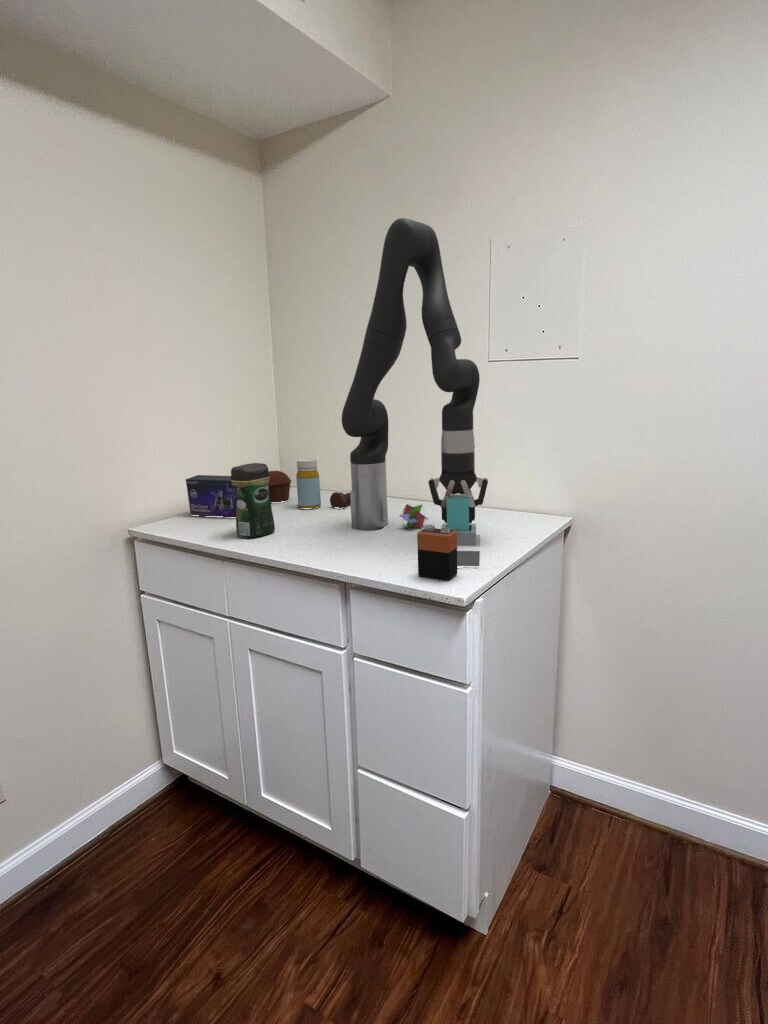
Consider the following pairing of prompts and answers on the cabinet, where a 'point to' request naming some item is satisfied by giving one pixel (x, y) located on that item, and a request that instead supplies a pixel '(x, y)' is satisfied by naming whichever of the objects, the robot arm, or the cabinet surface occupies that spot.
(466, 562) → the mat
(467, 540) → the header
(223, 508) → the box
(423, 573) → the battery
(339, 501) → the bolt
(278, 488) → the muffin
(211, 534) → the cabinet surface
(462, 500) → the teal block
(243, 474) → the coffee jar
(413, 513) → the geometric puzzle
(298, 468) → the bottle
